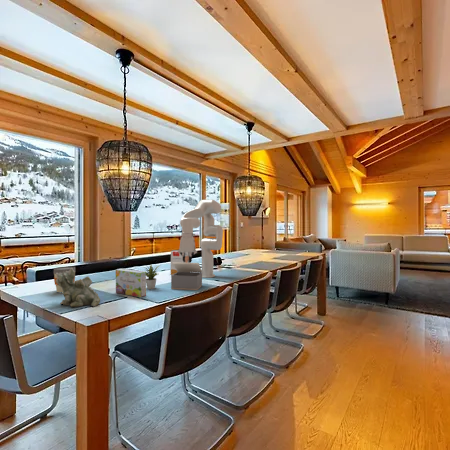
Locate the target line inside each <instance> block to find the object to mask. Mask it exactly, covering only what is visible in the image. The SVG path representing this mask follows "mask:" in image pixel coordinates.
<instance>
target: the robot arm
mask: <svg viewBox="0 0 450 450" xmlns="http://www.w3.org/2000/svg"><path fill="white" fill-rule="evenodd" d="M221 211H222V206H221V204H220V203H219V202H218V201H217V200H215V199H201V200H199V201H198V203H197V204H196V206H195V207H194V208H193V209H191V210H188V211H186V212H185V213H184V214H183V216H182V217H181V219H180V221H179V226H180V227H181V237H180V240H179V242H180V243H179V248H178V250H177V251H178V253H180V254H181V255H182V256H183V262H185V252H189V253H190V257H189V263H192V261H193V256H194V255H195V254H198V250H197V249H196V241H195V236H196V234H195V233H194V229H197V228H199V227H200V226H201V220H200V219H201V218H203V219H204V222H203V235H204V236H205V237H204V238H202V239H201V240H200V248H201V270H202V279H207V278H208V279H209V278H215V277H216V274H214V254H213V252H212V251H219V250H221V249H222V247H223V236H224V235H223V234H224V230H223V226H222V225H220V224H215V220H216V219H215V217H214V216H213V214H214V215H215V214H216V215H217V214H220V213H221Z"/></svg>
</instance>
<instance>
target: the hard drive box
mask: <svg viewBox="0 0 450 450" xmlns="http://www.w3.org/2000/svg"><path fill="white" fill-rule="evenodd" d="M186 256H189V257H190V253H189V252H185V257H186ZM173 262H178V263H185V262H186V260H185V262H183V256H182V255H181V254H180V253H178V250H170V275H173V274H175V273H177V270H176V268H175V267H174V265H173ZM187 263H189V261H188V262H187Z"/></svg>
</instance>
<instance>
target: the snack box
mask: <svg viewBox="0 0 450 450" xmlns="http://www.w3.org/2000/svg"><path fill="white" fill-rule="evenodd" d="M146 273H147V270H145V271H144V270H136V269H130V268H129V269H128V268H123V267H122V268H117V269H115V293H116V294H121V295H127V296H132V297H137V298H143V297H146V296H147V284H146V279H147V275H146Z"/></svg>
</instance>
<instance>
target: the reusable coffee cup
mask: <svg viewBox="0 0 450 450" xmlns="http://www.w3.org/2000/svg"><path fill="white" fill-rule="evenodd" d="M71 268H73V270H74V271H75V273H76V266H59V267H54V268H53V275H54V277H53V281H54V285H55V289H56V293H57V292H63V290H62V288H61V287H60V286H59V285H58V284H57V283H56V279H57V275H56V273H58V274H59V273H63V271H64V272H66V271H67V272H68V271H69V270H70V269H71ZM75 281H76V277H75V278H74V281H73V282H74V283H75Z"/></svg>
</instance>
